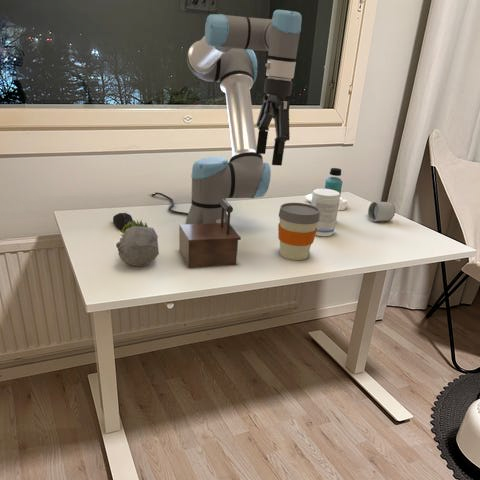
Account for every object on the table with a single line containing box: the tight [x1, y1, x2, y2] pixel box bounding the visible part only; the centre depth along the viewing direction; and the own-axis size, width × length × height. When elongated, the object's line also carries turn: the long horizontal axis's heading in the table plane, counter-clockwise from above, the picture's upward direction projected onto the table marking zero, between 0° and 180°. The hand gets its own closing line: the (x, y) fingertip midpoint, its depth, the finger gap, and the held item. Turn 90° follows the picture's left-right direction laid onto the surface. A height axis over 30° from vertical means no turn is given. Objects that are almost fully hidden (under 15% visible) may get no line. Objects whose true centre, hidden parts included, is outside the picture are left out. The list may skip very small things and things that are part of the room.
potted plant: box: [115, 218, 160, 267], centre depth 137 cm, size 12×13×15 cm
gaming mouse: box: [112, 212, 133, 231], centre depth 162 cm, size 6×15×4 cm, turn 22°
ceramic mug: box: [367, 200, 396, 222], centre depth 188 cm, size 11×8×8 cm
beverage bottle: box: [324, 167, 343, 201], centre depth 178 cm, size 6×7×20 cm
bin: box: [178, 227, 239, 269], centre depth 143 cm, size 15×13×8 cm
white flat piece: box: [304, 192, 348, 211], centre depth 202 cm, size 3×18×15 cm
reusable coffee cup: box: [277, 202, 320, 261], centre depth 148 cm, size 13×12×15 cm
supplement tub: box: [310, 188, 341, 237], centre depth 168 cm, size 10×10×15 cm
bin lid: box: [179, 199, 242, 243], centre depth 139 cm, size 15×13×9 cm
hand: (268, 159), depth 139 cm, fingers open, 13 cm apart
